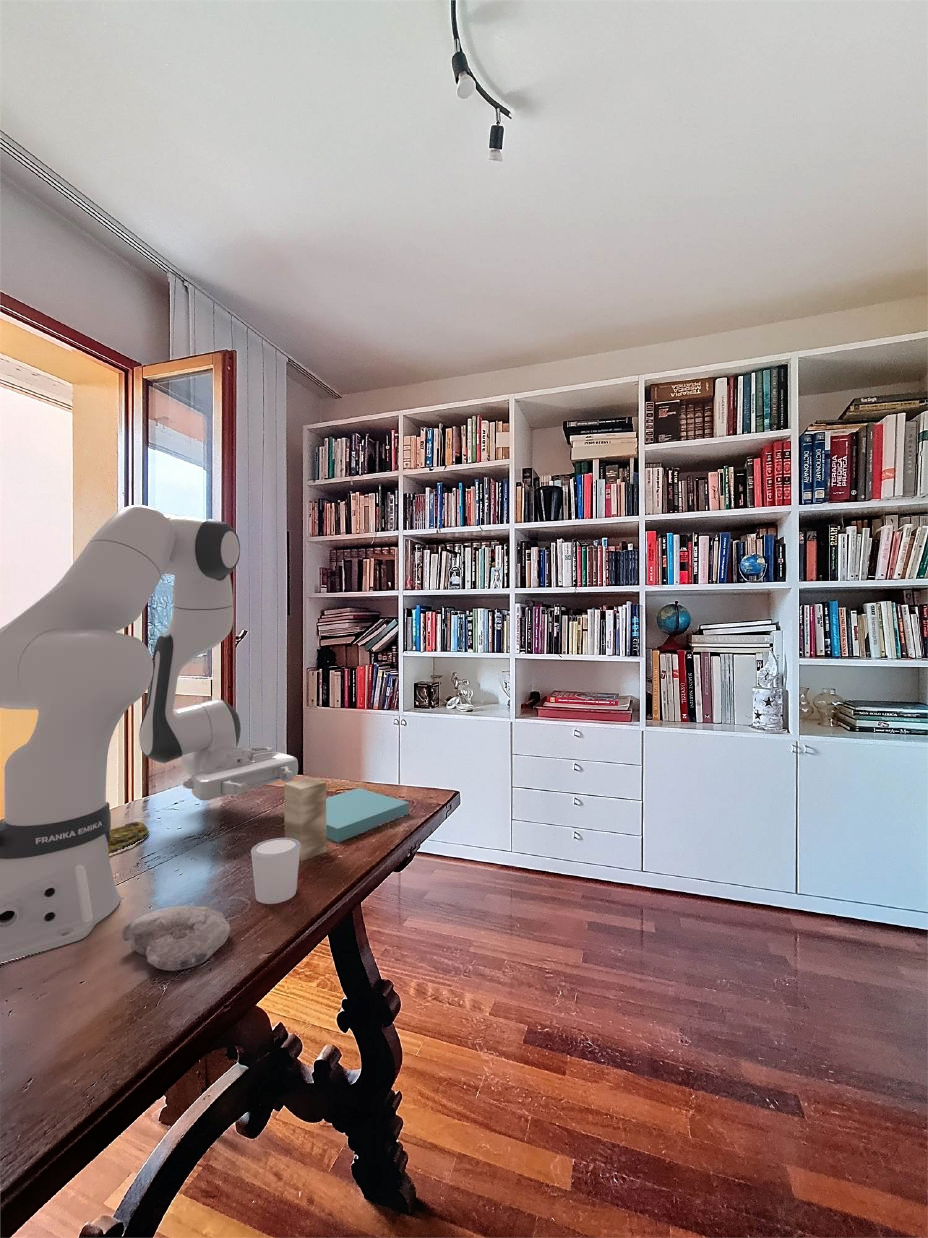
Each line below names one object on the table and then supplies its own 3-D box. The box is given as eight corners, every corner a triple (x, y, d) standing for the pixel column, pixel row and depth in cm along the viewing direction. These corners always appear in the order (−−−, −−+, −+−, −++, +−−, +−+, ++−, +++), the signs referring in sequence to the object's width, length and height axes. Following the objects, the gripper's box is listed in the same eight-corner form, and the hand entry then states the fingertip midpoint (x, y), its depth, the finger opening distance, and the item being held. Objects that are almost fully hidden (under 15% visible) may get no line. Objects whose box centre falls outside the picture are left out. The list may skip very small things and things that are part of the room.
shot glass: (291, 906, 75) (291, 856, 75) (242, 906, 75) (242, 856, 75) (307, 882, 81) (306, 836, 81) (262, 882, 82) (262, 836, 82)
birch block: (301, 861, 89) (300, 789, 89) (284, 853, 92) (284, 783, 92) (326, 851, 93) (326, 782, 93) (309, 844, 96) (309, 777, 96)
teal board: (337, 842, 96) (337, 828, 96) (288, 822, 106) (288, 809, 106) (409, 814, 110) (408, 802, 110) (359, 799, 120) (359, 788, 120)
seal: (111, 835, 104) (63, 869, 89) (108, 811, 104) (60, 841, 89) (161, 827, 105) (123, 859, 90) (158, 803, 105) (120, 831, 90)
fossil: (246, 905, 68) (178, 956, 58) (246, 937, 68) (178, 992, 59) (177, 883, 72) (103, 927, 63) (177, 913, 72) (104, 961, 63)
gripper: (178, 766, 102) (212, 780, 93) (276, 745, 117) (313, 755, 109) (179, 799, 102) (213, 816, 93) (276, 774, 117) (313, 786, 109)
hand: (267, 783), depth 101 cm, fingers open, 8 cm apart
